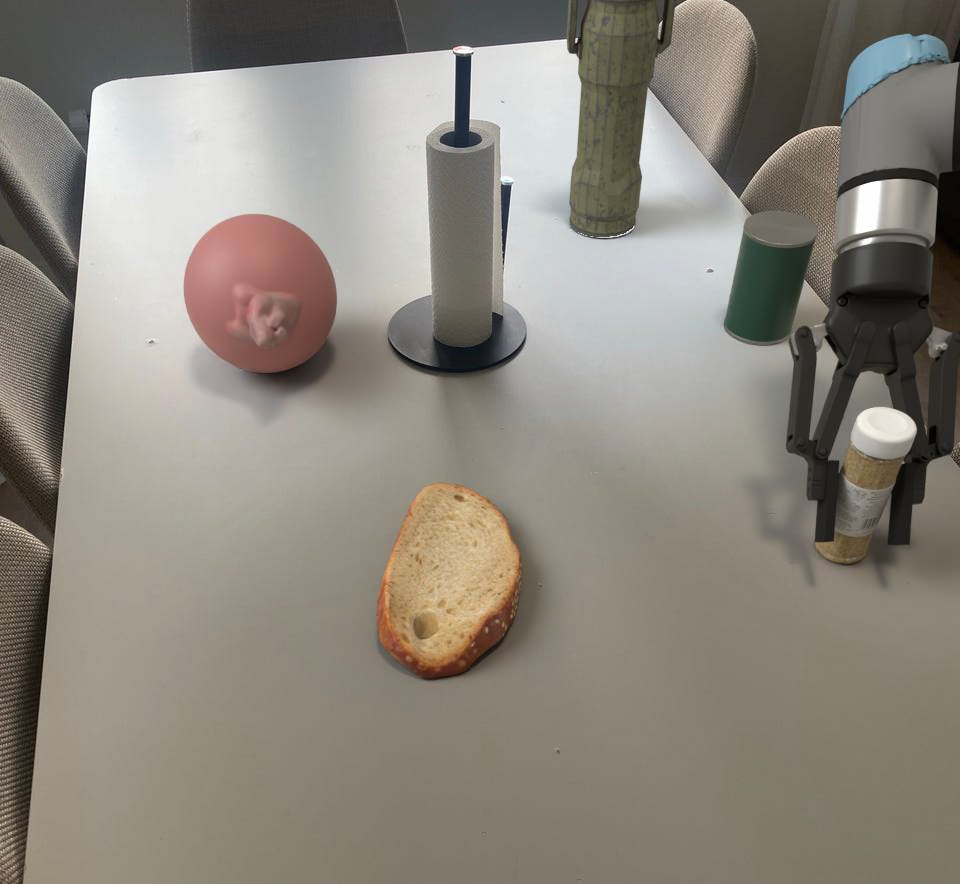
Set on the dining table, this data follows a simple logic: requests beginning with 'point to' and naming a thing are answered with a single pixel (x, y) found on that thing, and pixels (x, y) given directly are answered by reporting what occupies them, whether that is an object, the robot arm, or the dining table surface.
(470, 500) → the bread slice
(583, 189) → the thermos
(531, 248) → the dining table surface
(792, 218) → the tin can
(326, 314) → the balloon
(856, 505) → the sprinkles bottle
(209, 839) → the dining table surface
